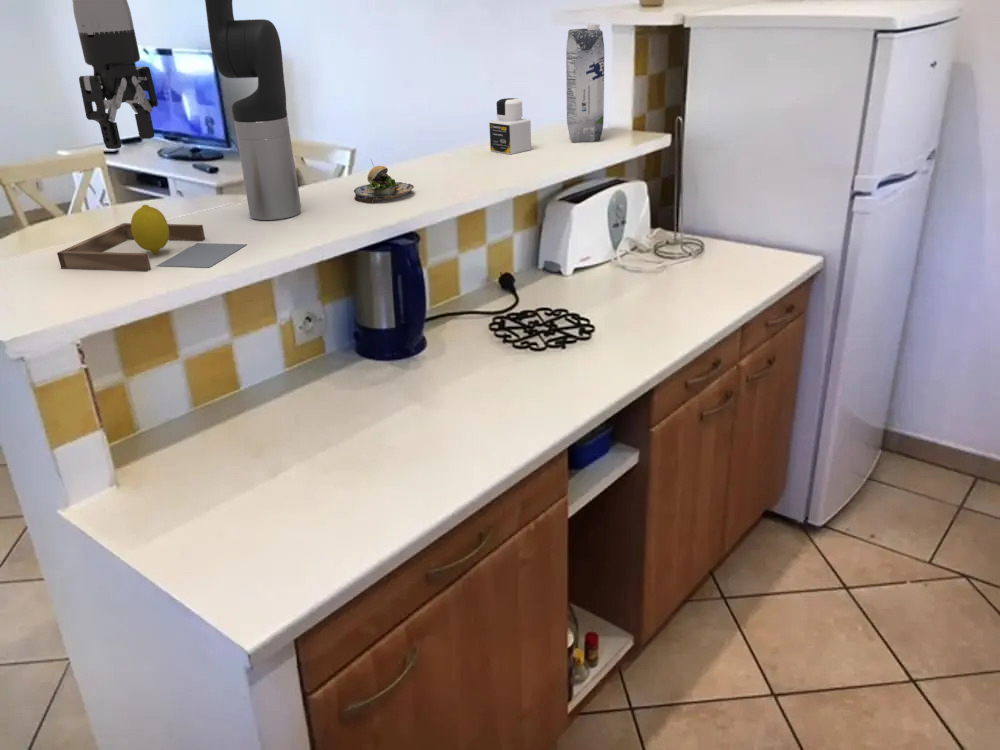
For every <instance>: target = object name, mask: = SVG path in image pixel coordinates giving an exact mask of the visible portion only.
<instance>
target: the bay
mask: <svg viewBox="0 0 1000 750" xmlns="http://www.w3.org/2000/svg"><path fill="white" fill-rule="evenodd" d="M167 224H168V227H169V240H168V241H183V240H184V241H185V242H186V241H189V242H191V241H193V242H203V241H204V240H206V236H205V231H204V224H188V223H187V224H183V223H181V224H179V223H178V224H177V223H174V224H173V223H172V224H171V223H167ZM127 240H134V237H133V235H132V231H131V222H130V223H129V222H124V223H123V222H122V223H121V224H119V225H116V226H115V227H112V228H110V229H107V230H106V231H103V232H101V233H99V234H96V235H94V236H92V237H90V238H88V239H85V240H83V241H81V242H78V243H76V244H73V245H72V246H70V247H66V248H65V249H63V250H60V251H59V252H58V251H57V252H56V254H57V257H58V262H59V265H60V269H64V270H65V269H67V270H69V269H70V270H92V271H93V270H96V271H97V270H98V271H99V270H100V271H101V270H102V271H122V272H123V271H129V272H148V270H149V271H150V270H152V268H151V263H150V259H149V255H148V253H147V252H146V253H145V252H141V253H140V252H109V251H108V252H105V251H107V250H109V249H111V248H113V247H115V246H117V245H119V244H122V243H123V242H126V241H127Z"/></svg>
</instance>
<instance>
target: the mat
mask: <svg viewBox="0 0 1000 750" xmlns="http://www.w3.org/2000/svg"><path fill="white" fill-rule="evenodd" d="M246 246H247V244H246V243H216V242H215V243H212V242H211V243H210V242H208V243H207V242H206V243H205V242H196V243H195V244H193V245H192V246H191V245H190V247H188V248H186V249H184V250H182V251H180V252H178V253H177V254H175V255H173V256H172V257H169V258H168V259H166V260H164V261H162V262H160V263H158V264H157V265H155V266H156V267H169V266H170V268H171V267H174V268H175V267H176V268H200V269H201V268H206V269H210V268H212V267H213V266H215V265H217V264H218V263H219V262H221V261H223V260H224V259H226V258H229V256H231V255H232V254H234V253H236V252H238V251H239V250H241V249H242V248H244V247H246Z"/></svg>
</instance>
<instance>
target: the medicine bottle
mask: <svg viewBox="0 0 1000 750" xmlns="http://www.w3.org/2000/svg"><path fill="white" fill-rule="evenodd" d="M522 117H523V101H522V100H521V99H519V98H517V97H511V98H510V97H508V98H500V99H499V100H497V101H496V118H498V119H494V120H490V121H489V122H488V123H489V125H488V126H489V142H490V143H489V145H490V152H493V153H499V154H503V155H504V154H505V155H515V154H519V153H524V152H528V151H531V150H532V135H531V134H532V132H531V131H532V123H531V120H530V119H527V118H522Z"/></svg>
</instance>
